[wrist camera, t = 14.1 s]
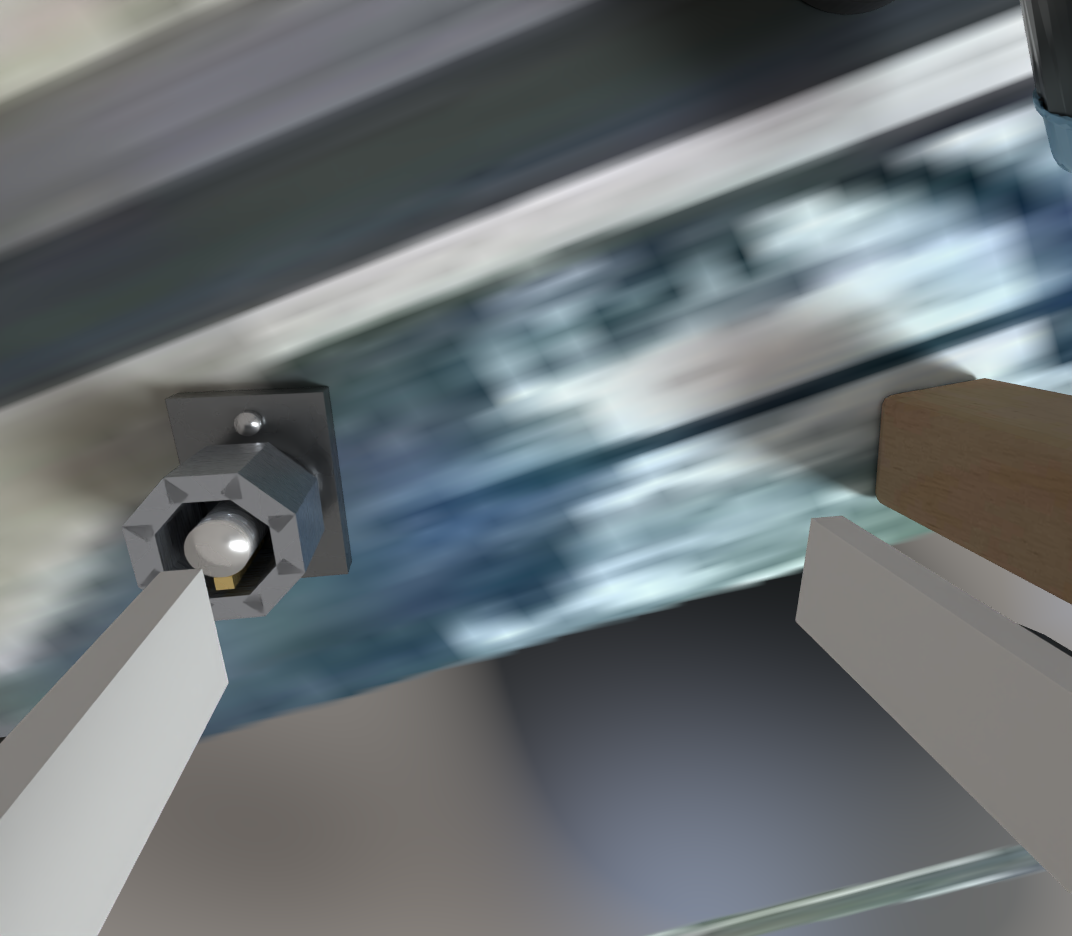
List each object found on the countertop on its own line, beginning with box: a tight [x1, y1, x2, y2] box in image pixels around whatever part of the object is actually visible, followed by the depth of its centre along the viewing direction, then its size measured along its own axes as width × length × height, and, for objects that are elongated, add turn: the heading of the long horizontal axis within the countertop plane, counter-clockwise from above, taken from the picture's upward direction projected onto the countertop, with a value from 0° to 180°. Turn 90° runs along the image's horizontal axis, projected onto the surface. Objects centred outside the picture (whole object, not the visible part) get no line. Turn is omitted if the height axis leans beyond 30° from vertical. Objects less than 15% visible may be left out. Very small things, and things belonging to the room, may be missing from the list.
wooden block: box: [875, 378, 1072, 604], centre depth 41 cm, size 10×10×20 cm
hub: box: [122, 442, 325, 621], centre depth 35 cm, size 9×9×6 cm
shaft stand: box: [165, 387, 352, 590], centre depth 38 cm, size 14×10×11 cm
